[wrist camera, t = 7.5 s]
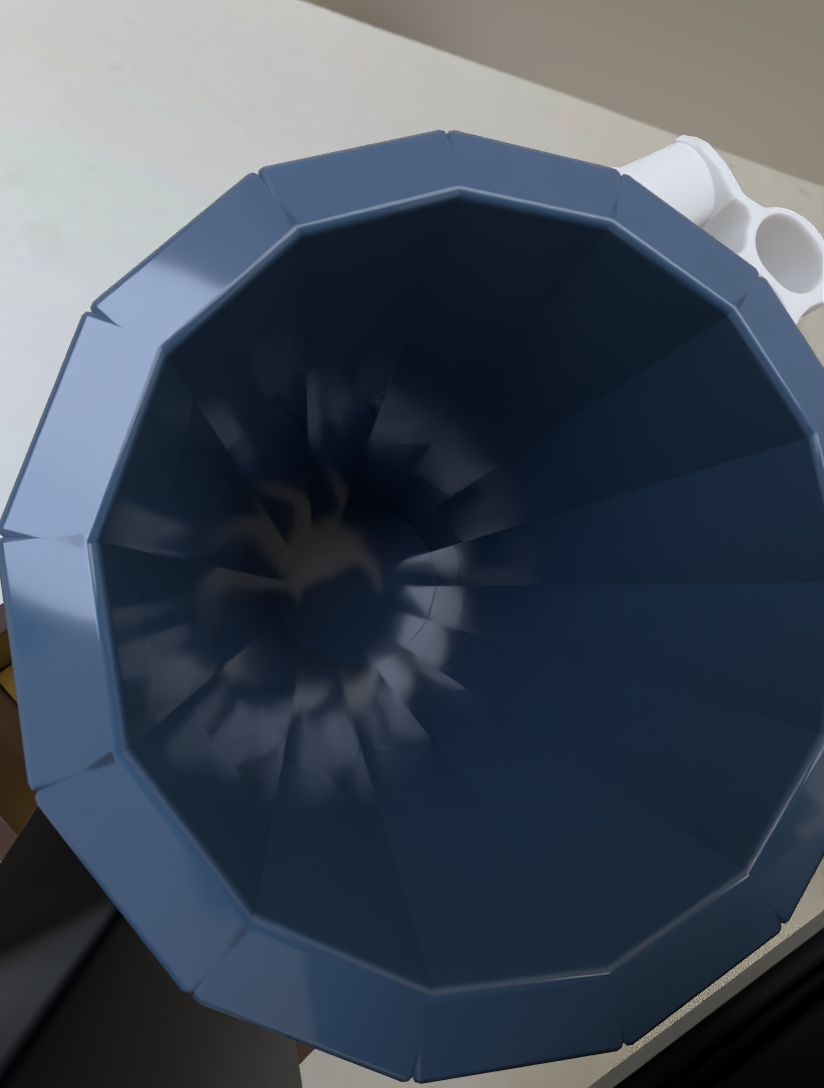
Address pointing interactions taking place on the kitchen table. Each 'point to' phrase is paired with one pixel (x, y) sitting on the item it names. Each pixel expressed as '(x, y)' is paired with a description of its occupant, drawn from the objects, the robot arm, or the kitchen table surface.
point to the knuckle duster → (738, 220)
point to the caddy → (24, 767)
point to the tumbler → (432, 606)
